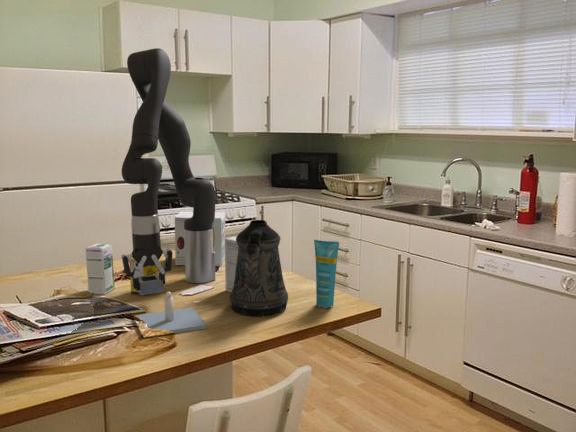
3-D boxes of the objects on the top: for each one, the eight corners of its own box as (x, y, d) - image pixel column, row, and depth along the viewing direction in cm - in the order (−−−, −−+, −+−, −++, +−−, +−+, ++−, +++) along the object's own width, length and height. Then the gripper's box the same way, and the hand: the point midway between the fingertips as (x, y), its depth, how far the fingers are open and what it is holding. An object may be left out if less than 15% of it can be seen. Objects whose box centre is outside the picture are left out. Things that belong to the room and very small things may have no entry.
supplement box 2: (174, 266, 196) (173, 217, 193) (181, 257, 209) (180, 210, 206) (222, 266, 196) (221, 217, 193) (226, 257, 209) (225, 211, 206)
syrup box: (105, 294, 164) (102, 248, 161) (87, 293, 165) (84, 246, 162) (115, 289, 169) (112, 243, 167) (97, 287, 170) (95, 242, 168)
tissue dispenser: (157, 285, 158) (157, 274, 157) (163, 291, 152) (162, 279, 152) (136, 288, 155) (135, 277, 154) (140, 295, 150) (140, 283, 149)
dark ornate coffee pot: (276, 295, 165) (277, 214, 160) (300, 317, 147) (301, 226, 142) (223, 301, 159) (222, 217, 155) (241, 324, 141) (240, 230, 137)
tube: (310, 306, 155) (311, 241, 152) (314, 301, 160) (316, 237, 156) (336, 309, 153) (337, 243, 149) (339, 304, 157) (341, 239, 154)
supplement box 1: (158, 290, 168) (157, 256, 166) (146, 296, 163) (144, 261, 161) (143, 288, 171) (142, 254, 169) (130, 293, 165) (128, 258, 163)
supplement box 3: (267, 290, 169) (267, 238, 166) (245, 297, 163) (245, 242, 160) (246, 284, 176) (246, 233, 173) (224, 290, 169) (223, 237, 166)
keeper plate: (192, 310, 151) (191, 281, 149) (207, 328, 138) (206, 296, 137) (133, 319, 144) (132, 288, 143) (143, 338, 132) (141, 305, 130)
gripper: (168, 225, 157) (171, 280, 160) (116, 230, 150) (120, 288, 154) (175, 230, 150) (178, 287, 153) (121, 236, 144) (125, 296, 147)
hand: (149, 287), depth 153 cm, fingers closed on tissue dispenser, 6 cm apart
